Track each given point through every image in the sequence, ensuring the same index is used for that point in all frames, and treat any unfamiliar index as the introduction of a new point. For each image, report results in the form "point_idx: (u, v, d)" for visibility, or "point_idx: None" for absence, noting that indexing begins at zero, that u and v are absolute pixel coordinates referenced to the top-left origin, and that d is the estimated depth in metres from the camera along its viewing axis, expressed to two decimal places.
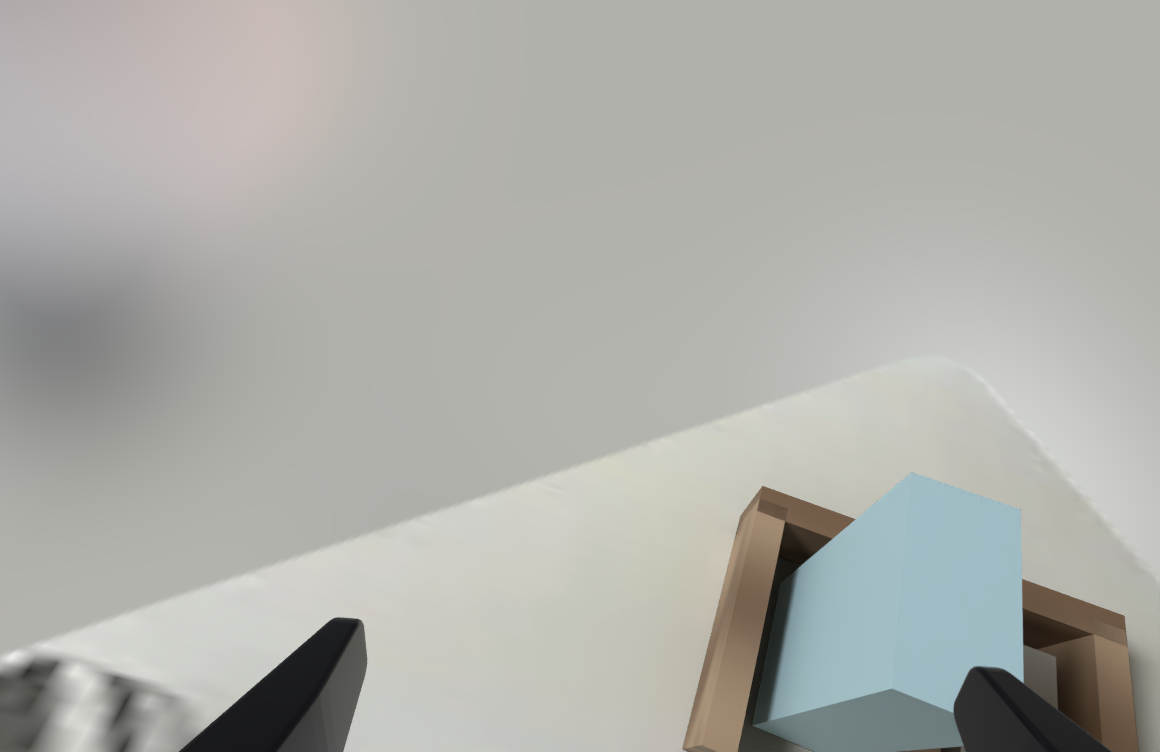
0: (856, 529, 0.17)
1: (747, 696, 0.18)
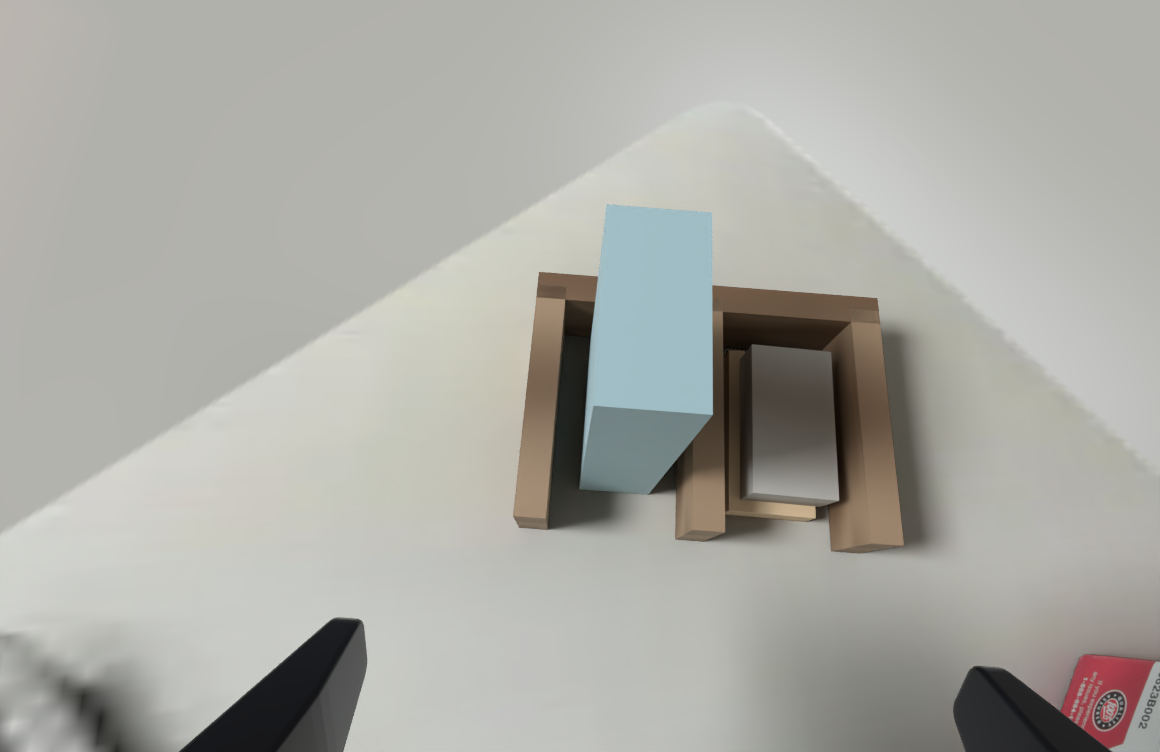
0: None
1: (549, 463, 0.19)
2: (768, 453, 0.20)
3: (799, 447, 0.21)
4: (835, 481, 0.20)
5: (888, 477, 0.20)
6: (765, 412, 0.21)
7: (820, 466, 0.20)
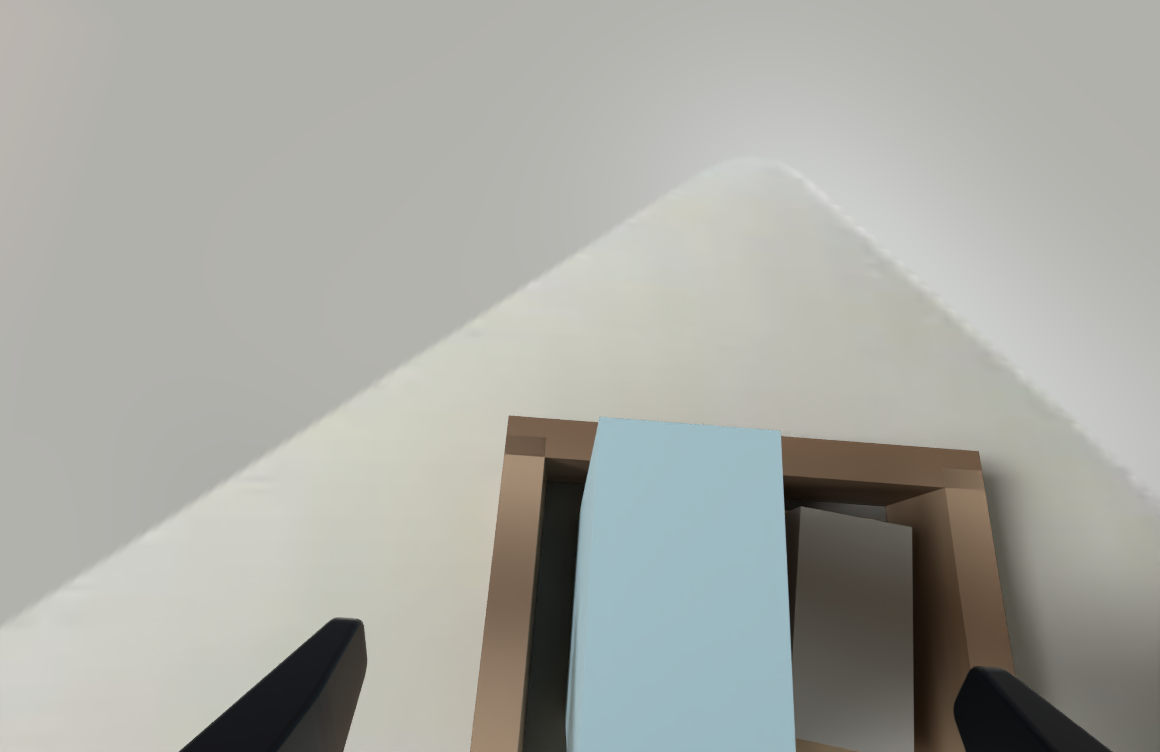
0: (587, 486, 0.11)
1: (517, 722, 0.13)
2: (813, 676, 0.14)
3: (859, 670, 0.14)
4: (910, 730, 0.14)
5: None
6: (813, 611, 0.15)
7: (889, 703, 0.14)
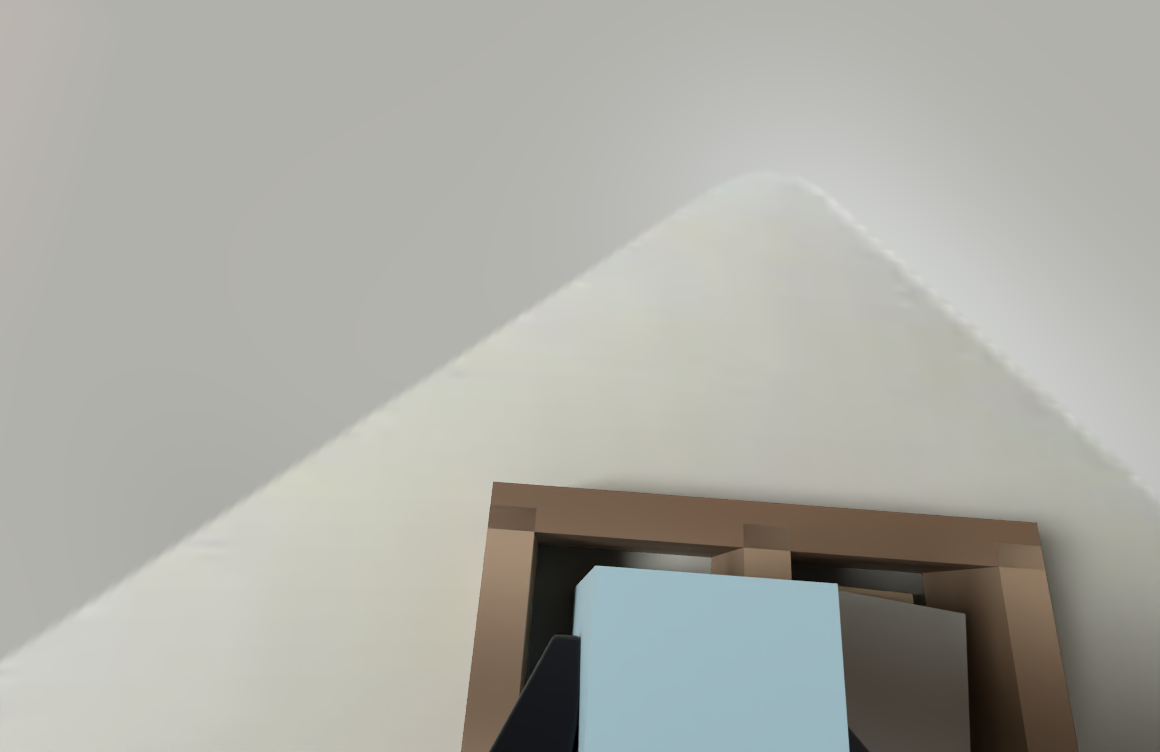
0: (582, 606, 0.09)
1: None
2: None
3: None
4: None
5: None
6: (854, 719, 0.13)
7: None
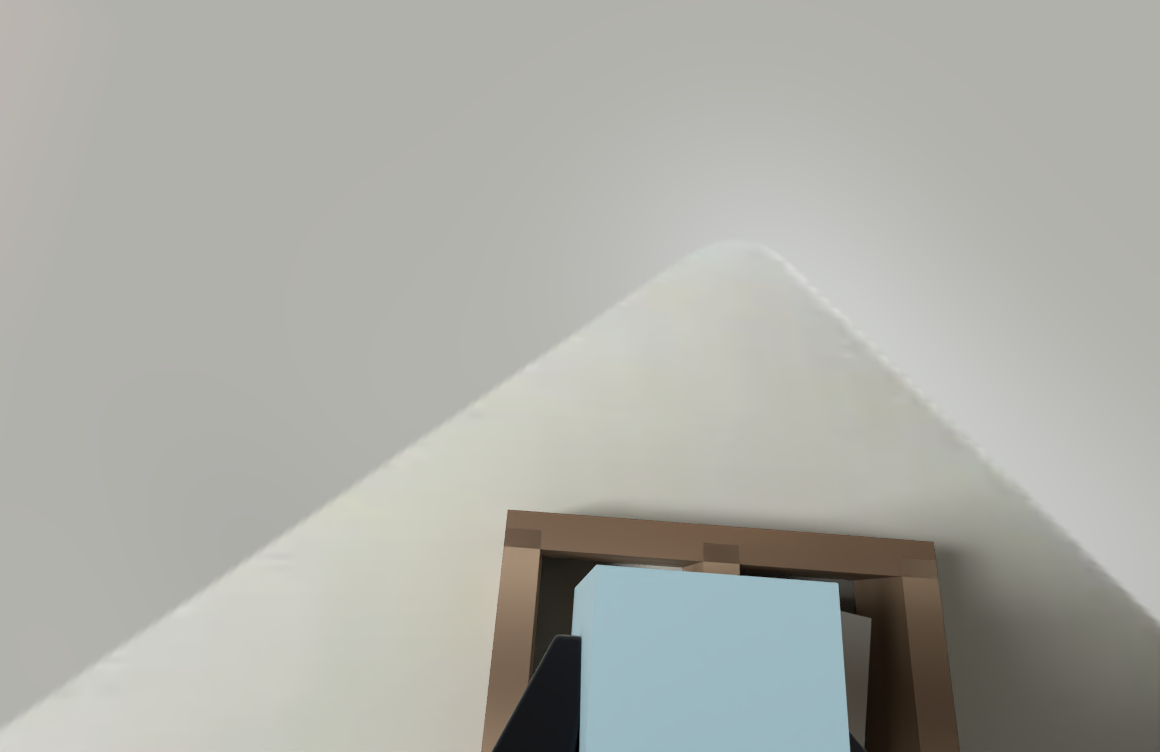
0: (583, 605, 0.09)
1: None
2: None
3: None
4: None
5: None
6: None
7: None
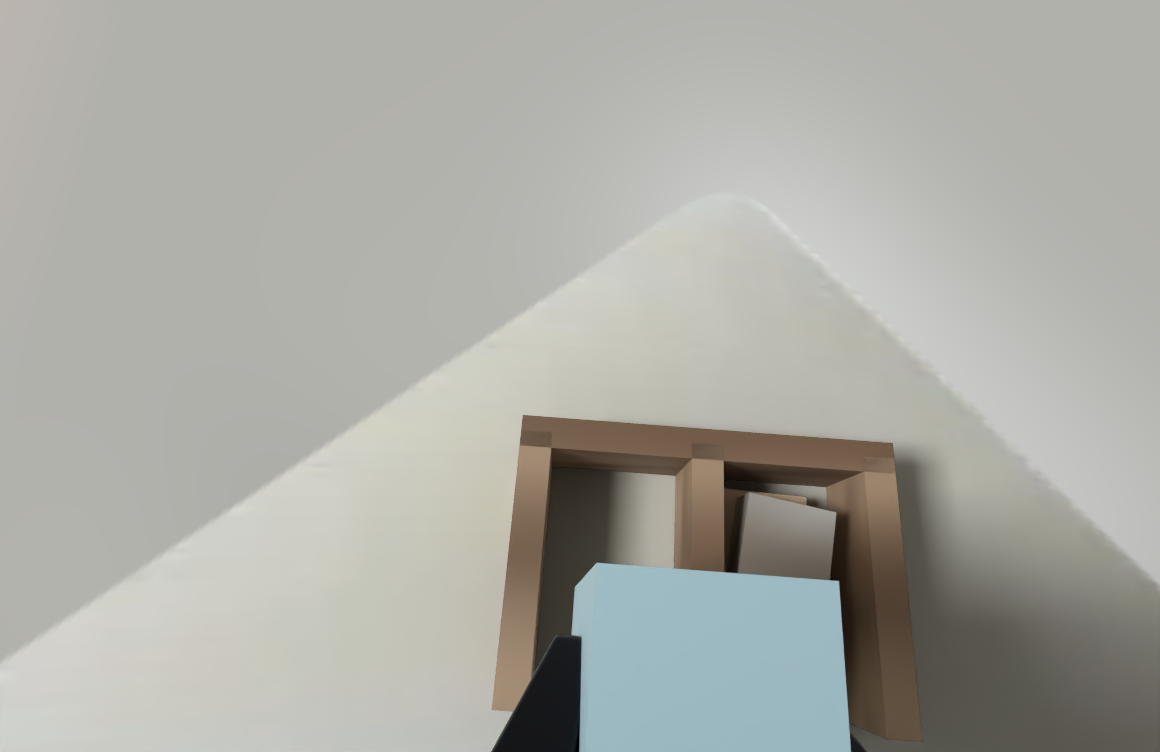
0: (583, 604, 0.09)
1: (531, 646, 0.18)
2: None
3: None
4: None
5: (905, 659, 0.18)
6: (752, 573, 0.19)
7: None
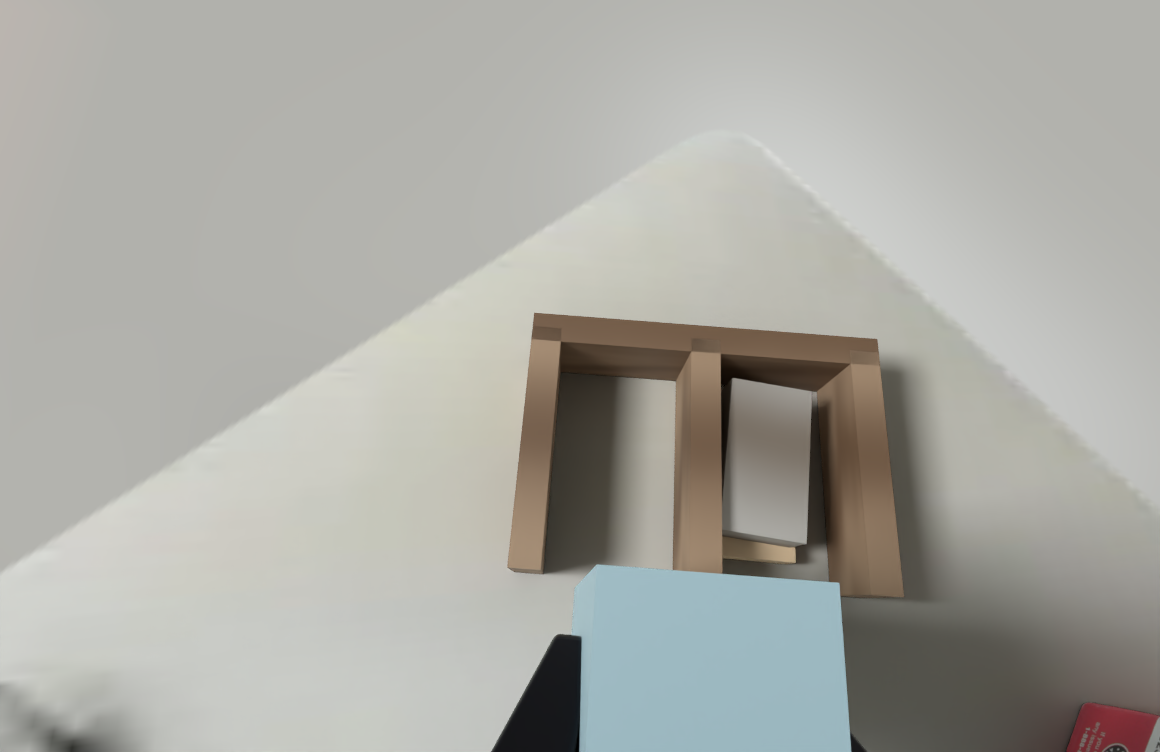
0: (584, 605, 0.09)
1: (543, 512, 0.19)
2: (738, 490, 0.20)
3: (771, 486, 0.20)
4: (805, 523, 0.20)
5: (888, 525, 0.19)
6: (740, 448, 0.21)
7: (790, 507, 0.20)
